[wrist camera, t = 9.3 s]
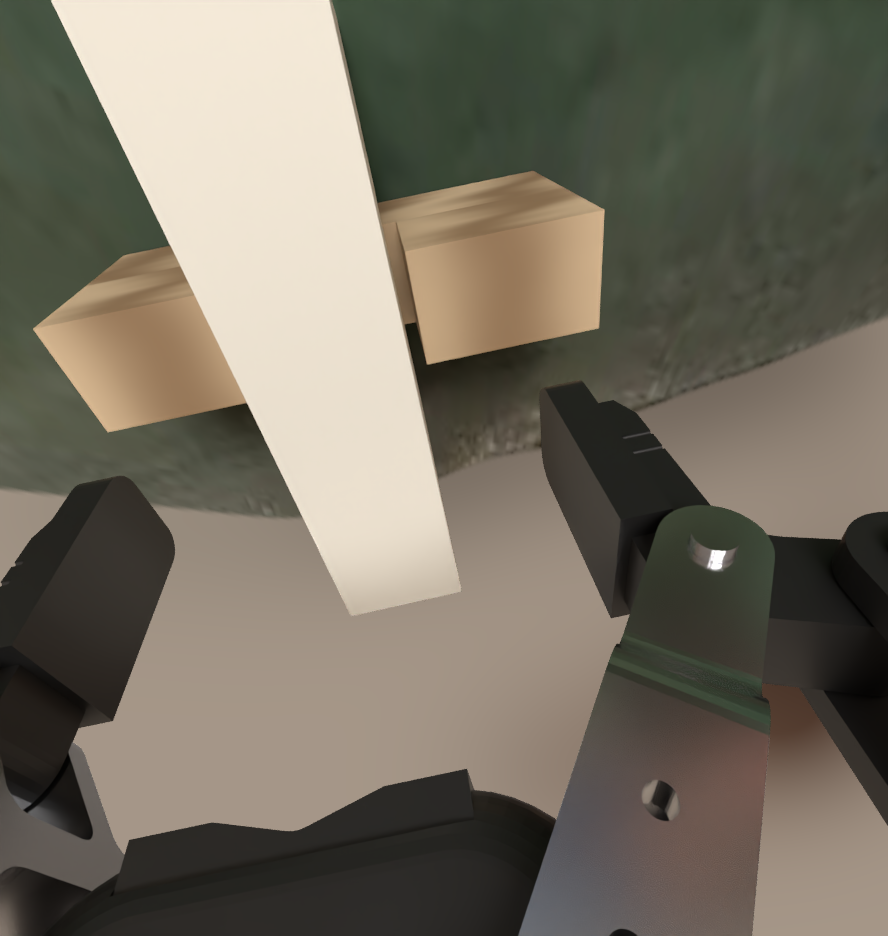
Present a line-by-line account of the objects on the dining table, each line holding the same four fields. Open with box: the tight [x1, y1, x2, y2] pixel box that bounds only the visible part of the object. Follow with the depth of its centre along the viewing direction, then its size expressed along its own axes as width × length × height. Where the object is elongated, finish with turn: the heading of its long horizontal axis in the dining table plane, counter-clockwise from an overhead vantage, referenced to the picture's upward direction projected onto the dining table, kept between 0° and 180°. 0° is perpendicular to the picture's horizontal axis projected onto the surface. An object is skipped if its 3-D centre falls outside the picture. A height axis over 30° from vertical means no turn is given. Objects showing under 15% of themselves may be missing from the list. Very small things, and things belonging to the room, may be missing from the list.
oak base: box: [33, 171, 604, 432], centre depth 17 cm, size 16×4×7 cm, turn 100°
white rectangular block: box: [51, 0, 462, 616], centre depth 15 cm, size 14×4×12 cm, turn 10°
